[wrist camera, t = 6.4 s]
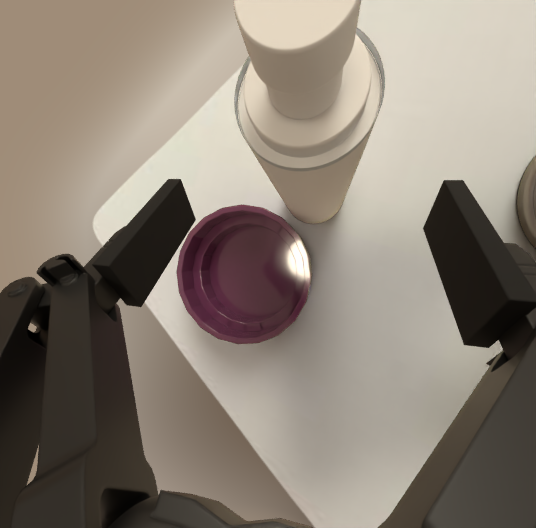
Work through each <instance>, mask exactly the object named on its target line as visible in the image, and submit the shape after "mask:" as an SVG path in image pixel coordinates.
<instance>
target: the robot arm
mask: <svg viewBox="0 0 536 528" xmlns="http://www.w3.org/2000/svg"><path fill="white" fill-rule="evenodd" d="M517 209H518V216H519V220H520V224H521V226H522V229H523V231H524V233H525V235H526V237H527V238H528V240H529V241H530V243H531V244H532V245H533V246H534V248H535V249H536V156H535V157H534V158H533V160H532V161H531V162H530V164H529V165H528V167H527V169H526V171H525V173H524V175H523V177H522V180H521V183H520V186H519V191H518V198H517ZM195 220H196V219H195V216H194V214H193V211H192V208H191V206H190V203H189V200H188V197H187V195H186V192H185V189H184V187H183V184H182V181H181V179H168V180H167V181H166V182H165V183H164V185H163V186H162V187H161V188H160V189H159V190H158V191H157V192H156V193H155V195H154V196H153V197H152V198H151V199H150V200H149V201H148V202H147V204H146V205H145V206H144V207H143V208H142V209H141V210H140V211H139V212H138V214H137V215H136V216H135V217H134V218H133V219H132V220H131V221H130V222H129V224H128V225H127V226H125V227H123V228H122V229H120V230H119V231H117V232H116V233H115V234H114V235H113V236H112V237H111V238H110V239H109V242H108V241H107V242H106V243H105V245H104V246H103V247H102V248H101V249H100V250H99V251H98V252H97V253H96V255H94V257H93V258H92V259H91V260H90V261H89V262H88V263H87V264H86V265H85V266H84V267H83V266H82V265H81V264H80V263H79V262H78V261H77V260H76V259H75V258H74V256H73V255H70V254H62V255H58V256H55V257H53V258H51V259H49V260H47V261H46V262H44V263H43V264H42V265H41V266H40V267H39V268H38V270H37V274H38V275H39V276H40V277H42V278H43V279H44V280H45V281H46V282H47V283H46V284H40V283H39V282H38V281H37V280H36V279H35V278H32V277H25V278H22V279H19V280H16V281H14V282H12V283H10V284H9V285H8V286H7V287H5V288H4V289H3V290H2V292H1V293H0V528H313V527H311V526H307V525H304V524H300V523H297V522H293V521H289V520H286V519H282V518H277V519H267V520H257V521H246V520H244V519H243V518H241V517H240V516H238V515H237V514H236V513H234V512H233V511H232V510H230V509H229V508H227V507H226V506H224V505H223V504H222V503H220V502H219V501H216V500H212V499H208V498H205V497H200V496H197V495H193V494H187V493H180V492H170V491H163V490H161V491H160V494H159V495H158V491H157V485H156V480H155V476H154V474H153V471H152V468H151V467H150V465H149V464H148V462H147V461H146V458H145V455H144V451H143V445H142V439H141V433H140V428H139V421H138V416H137V409H136V403H135V397H134V391H133V385H132V379H131V374H130V368H129V361H128V355H127V349H126V343H125V337H124V331H123V325H122V319H121V313H120V308H119V306H118V305H117V304H116V303H117V301H118V300H119V299H120V298H121V299H122V300H123V301H124V303H125V304H126V305H129V306H138V307H141V306H142V305H143V303H144V302H145V300H146V299H147V297H148V295H149V294H150V292H151V291H152V289H153V287H154V286H155V284H156V283H157V281H158V279H159V278H160V276H161V275H162V273H163V271H164V270H165V268H166V267H167V265H168V263H169V262H170V260H171V258H172V257H173V255H174V254H175V252H176V250H177V249H178V247H179V246H180V244H181V242H182V241H183V239H184V238H185V236H186V234H187V233H188V231H189V230H190V228H191V226H192V225H193V223H194V222H195ZM423 229H424V232H425V235H426V238H427V241H428V243H429V246H430V249H431V252H432V255H433V258H434V261H435V263H436V266H437V269H438V272H439V275H440V278H441V281H442V283H443V286H444V289H445V292H446V295H447V298H448V300H449V303H450V306H451V309H452V312H453V315H454V318H455V320H456V323H457V326H458V329H459V332H460V335H461V337H462V340H463V343H464V345H469V346H477V347H486V348H489V347H490V346H492V345H493V344H494V343H495V342H496V341H497V340H499V341H500V344H501V346H502V348H503V351H502V352H500V353H499V354H498V355H496V356H495V357H494V358H493V359H491V360H490V361H489V362H488V363H486V364H488V365H489V366H490V365H491V366H490V367H489V369H488V370H487V372H486V373H485V374H484V376H483V377H482V379H481V380H480V382H479V383H478V385H477V386H476V388H475V389H474V391H473V392H472V394H471V395H470V397H469V398H468V400H467V401H466V403H465V404H464V406H463V407H462V409H461V410H460V412H459V413H458V415H457V416H456V418H455V419H454V421H453V422H452V424H451V425H450V427H449V428H448V430H447V431H446V433H445V434H444V436H443V437H442V439H441V440H440V442H439V443H438V445H437V446H436V448H435V449H434V451H433V452H432V454H431V455H430V456H429V458H428V459H427V461H426V462H425V464H424V465H423V467H422V468H421V470H420V471H419V473H418V474H417V476H416V477H415V479H414V480H413V482H412V483H411V485H410V486H409V488H408V489H407V491H406V492H405V494H404V495H403V497H402V498H401V500H400V501H399V503H398V504H397V506H396V507H395V509H394V510H393V512H392V513H391V514H390V516H389V517H388V518H387V519H386V521H385V522H383V523H382V524H381V525H380V526H379V527H378V528H536V263H535V261H534V260H533V259H532V257H531V256H530V254H529V253H527V252H526V251H525V250H523V249H522V248H521V247H519V246H518V245H517V244H510V243H503V241H502V240H501V238H500V237H499V235H498V234H497V232H496V230H495V229H494V227H493V226H492V224H491V223H490V221H489V220H488V218H487V217H486V215H485V213H484V212H483V210H482V209H481V207H480V206H479V204H478V203H477V201H476V200H475V198H474V197H473V195H472V193H471V192H470V190H469V189H468V187H467V186H466V184H465V183H464V181H463V180H444V181H443V184H442V186H441V188H440V191H439V193H438V195H437V198H436V200H435V202H434V205H433V207H432V209H431V211H430V214H429V216H428V218H427V221H426V223H425V225H424V228H423ZM30 322H31V323H32V324H34V325H35V326H36V327H37V329H36V331H35V332H34V333H33V332H31V331H30V330H28V326H29V324H30ZM38 445H39V452H38V465H37V472H36V476H35V477H34V479H33V481H32V482H30V483H29V484H28V485H27V481H28V478H29V475H30V472H31V468H32V465H33V462H34V458H35V455H36V452H37V448H38ZM26 485H27V486H26Z"/></svg>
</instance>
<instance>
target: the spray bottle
mask: <svg viewBox="0 0 536 528" xmlns="http://www.w3.org/2000/svg"><path fill="white" fill-rule="evenodd" d="M360 4H361V0H234V10H235V15H236V19H237V22H238V25H239V28H240V31H241V34H242V37H243V39H244V42H245V45H246V48H247V51H248V54H249V57H248V58H247V60H246V62H245V63H244V65H243V67H242V70H241V72H240V75H239V77H238V81H237V85H236V90H235V114H236V119H237V123H238V126H239V128H240V131H241V130H242V131H241V133H242V135H244V136H243V137H244V138H245V140H246V142H247V143H248V145H249V147H250V148H251V150H252V151H253V153H254V155H255V156H256V158H257V159H258V161H259V163H260V164H261V166H262V168H263V169H264V171H265V172H266V174H267V176H268V177H269V179H270V180H271V182H272V184H273V185H274V187H275V188H276V190H277V191H278V193H279V195H280V196H281V198H282V199H283V201H284V202H285V204H286V206H287V207H288V209H289V210H290V212H291V213H292V214H293V215H294V216H295V217H296V218H297V219H299V220H300V221H303V222H305V223H311V224H316V223H322V222H324V221H327V220H329V219H330V218H332V217H333V216H334V215H335V214H336V213H337V212H338V211H339V209H340V207H341V205H342V203H343V201H344V198H345V196H346V193H347V191H348V188H349V186H350V184H351V181H352V179H353V176H354V174H355V171H356V169H357V166H358V164H359V161H360V159H361V156H362V154H363V151H364V149H365V146H366V144H367V141H368V139H369V136H370V134H371V131H372V128H373V126H374V123H375V121H376V118H377V116H378V113H379V111H380V109H379V108H381V105H382V101H383V96H384V88H385V77H384V69H383V64H382V61H381V58H380V55H379V53H378V51H377V49H376V47H375V46H374V44H373V43H372V41H371V40H370V39H369V38H368V37H367V36H366V35H365V33H363V32H362V31H361V30H360V29H358V28H357V23H358V16H359V10H360ZM363 43H364V44H365V45H366V46H367V47H368V49H369V50H370V51H371V53H372V54H373V56H374V58H375V59H374V58H373V56H372V54H371V53H370V51H369V50H368V49H367V47H366V46H365V45H364V44H363ZM375 60H376V62H377V64H378V67H379V70H380V73H379V70H378V67H377V64H376V62H375ZM245 74H246V75H245ZM380 74H381V78H380ZM244 76H245V77H244ZM243 78H244V80H243ZM381 79H382V87H381ZM242 81H243V83H242ZM241 83H242V86H241ZM240 87H241V89H240ZM239 91H240V94H239ZM381 91H382V98H381ZM238 96H239V101H238ZM380 103H381V104H380ZM238 115H239V119H238ZM239 122H240V124H239ZM240 126H241V127H240Z"/></svg>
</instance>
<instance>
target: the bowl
mask: <svg viewBox="0 0 536 528" xmlns="http://www.w3.org/2000/svg"><path fill="white" fill-rule="evenodd" d="M177 279H178V288H179V293H180V296H181V298H182V300H183V303H184V305H185V307H186V310H187V311H188V313H189V314H190V315H191V316H192V318H193V319H194V320H195V321H196V322H197V324H198V325H199V326H200V327H201V328H202V329H204V330H205V331H207V332H208V333H210V334H211V335H213V336H215V337H216V338H218V339H221V340H225V341H228V342H232V343H236V344H249V343H260V342H263V341H265V340H268V339H270V338H272V337H275V336H277V335H279V334H280V333H282V332H283V331H284V330H285V329H286V328H287V327H288V326H290V325H291V324H292V323H293V322H294V321H295V320H296V318H297V317H298V315H299V313H300V311H301V310H302V308H303V306H304V305H305V303H306V301H307V298H308V294H309V290H310V285H311V280H312V267H311V259H310V255H309V252H308V250H307V248H306V246H305V244H304V242H303V240H302V238H301V237H300V236H299V235H298V234H297V233H296V231H295V230H294V229H293V228H292V227H291V226H290V225H289V224H288V223H287V222H286V221H285V220H284V219H283V218H282V217H280V216H278V215H276V214H274V213H272V212H270V211H268V210H267V209H265V208H261V207H254V206H248V205H237V206H231V207H225V208H221V209H219V210H217V211H215V212H214V213H212V214H210V215H208V216H206V217H204V218H203V219H202V220H201V221H200V222H199V223H198V224H197V225H196V226H195V227H194V228H193V229H192V230H191V231H190V233H189V234H188V236H187V238H186V240H185V242H184V244H183V246H182V248H181V251H180V255H179V261H178V267H177Z"/></svg>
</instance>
